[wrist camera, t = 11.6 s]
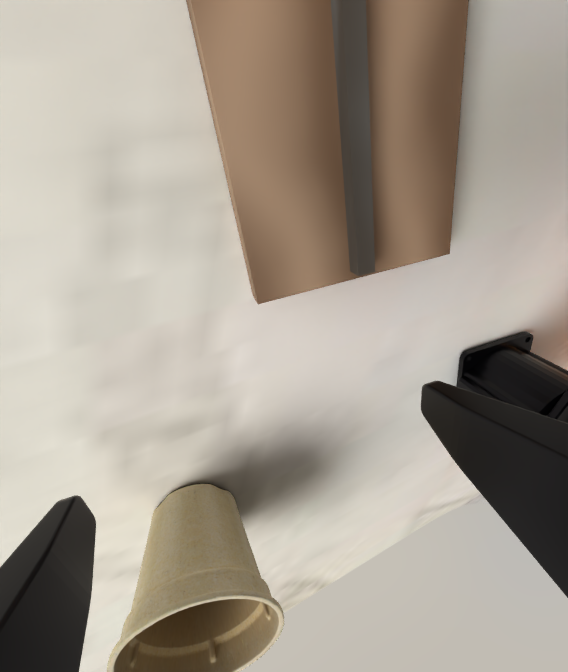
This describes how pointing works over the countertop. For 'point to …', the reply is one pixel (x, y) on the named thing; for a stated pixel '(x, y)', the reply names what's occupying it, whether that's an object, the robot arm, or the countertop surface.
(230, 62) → the track
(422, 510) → the countertop surface
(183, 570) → the flower pot
